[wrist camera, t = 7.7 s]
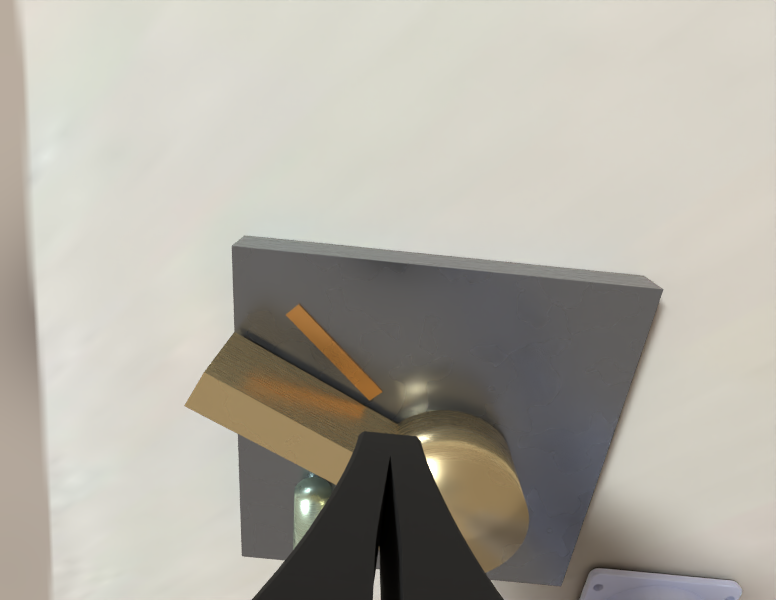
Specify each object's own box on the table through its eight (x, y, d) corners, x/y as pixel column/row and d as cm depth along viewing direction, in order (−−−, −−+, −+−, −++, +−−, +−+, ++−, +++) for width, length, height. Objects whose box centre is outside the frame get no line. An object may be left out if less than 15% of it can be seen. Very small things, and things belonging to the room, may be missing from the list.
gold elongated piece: (540, 453, 20) (562, 509, 17) (456, 537, 22) (463, 599, 19) (260, 287, 17) (233, 322, 15) (193, 399, 19) (159, 448, 17)
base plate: (552, 559, 25) (571, 618, 22) (251, 531, 25) (230, 586, 22) (643, 275, 19) (687, 306, 16) (244, 235, 19) (215, 258, 16)
